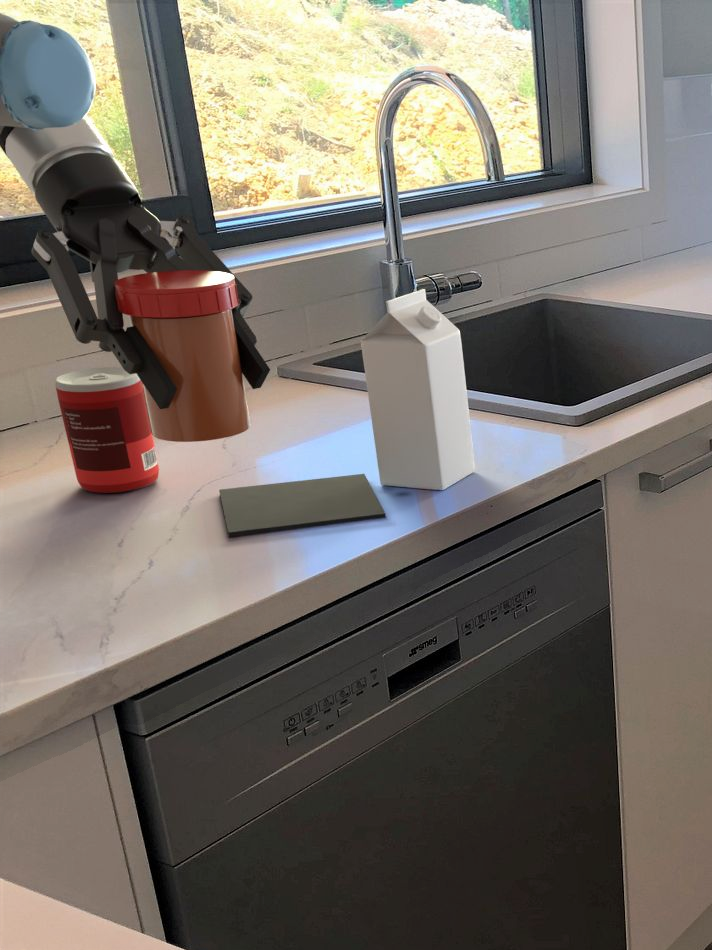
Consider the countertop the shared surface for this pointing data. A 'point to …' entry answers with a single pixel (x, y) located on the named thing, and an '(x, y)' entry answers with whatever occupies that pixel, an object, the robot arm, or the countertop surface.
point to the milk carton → (418, 396)
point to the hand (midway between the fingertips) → (216, 388)
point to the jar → (197, 377)
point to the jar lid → (176, 293)
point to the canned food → (107, 429)
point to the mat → (299, 505)
